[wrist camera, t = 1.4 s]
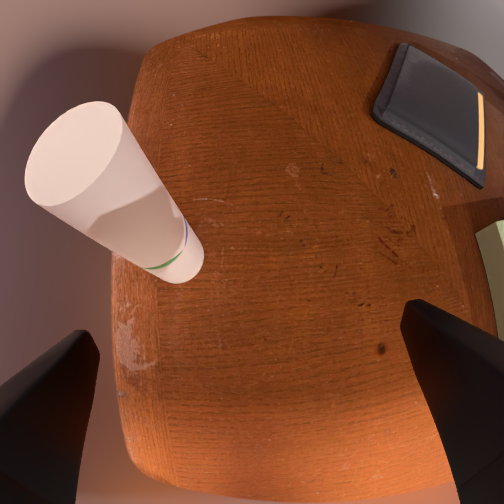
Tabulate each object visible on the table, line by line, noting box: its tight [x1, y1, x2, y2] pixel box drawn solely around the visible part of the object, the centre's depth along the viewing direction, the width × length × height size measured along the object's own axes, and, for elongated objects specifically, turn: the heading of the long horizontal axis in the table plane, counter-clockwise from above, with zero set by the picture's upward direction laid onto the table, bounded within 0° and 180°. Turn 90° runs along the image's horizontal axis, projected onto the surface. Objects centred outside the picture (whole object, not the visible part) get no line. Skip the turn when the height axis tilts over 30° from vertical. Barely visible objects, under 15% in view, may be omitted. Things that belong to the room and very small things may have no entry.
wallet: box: [371, 42, 486, 190], centre depth 26 cm, size 20×2×15 cm
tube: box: [25, 101, 204, 284], centre depth 15 cm, size 4×4×15 cm
